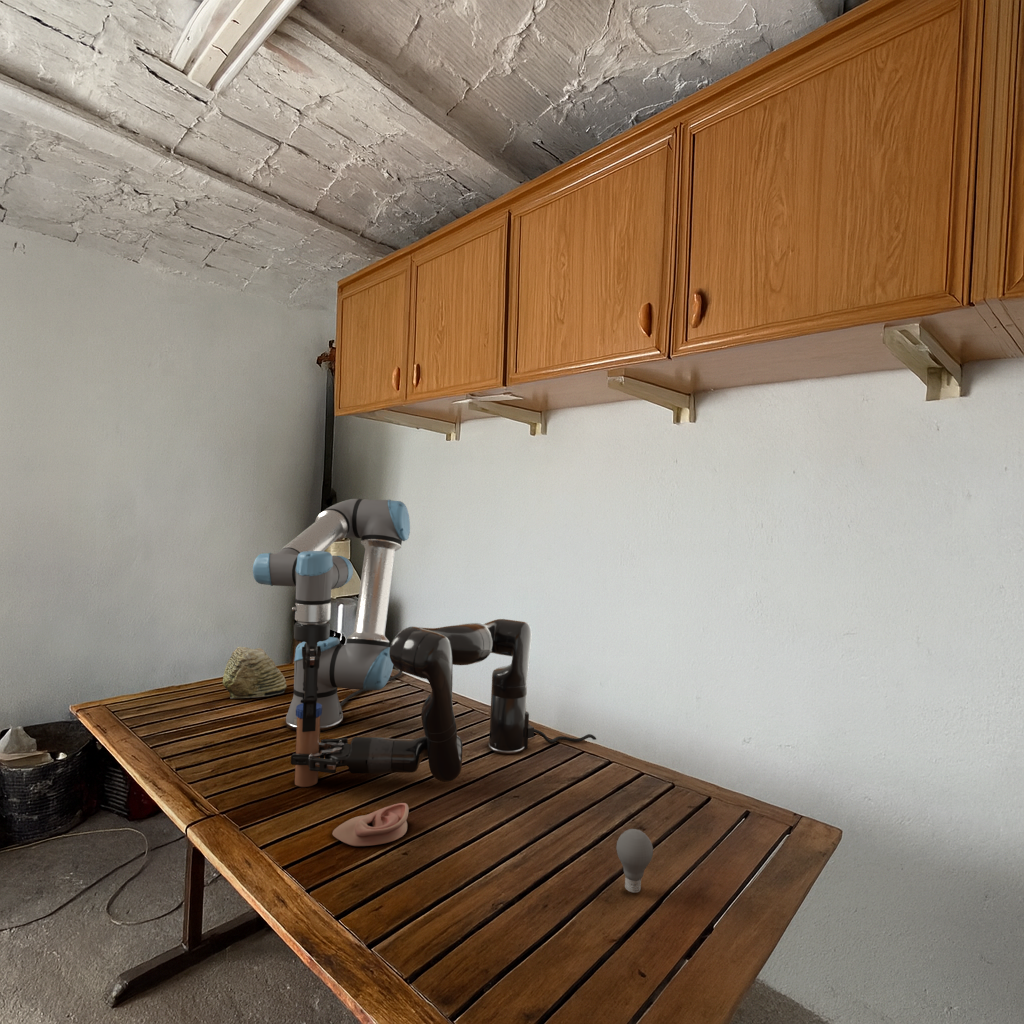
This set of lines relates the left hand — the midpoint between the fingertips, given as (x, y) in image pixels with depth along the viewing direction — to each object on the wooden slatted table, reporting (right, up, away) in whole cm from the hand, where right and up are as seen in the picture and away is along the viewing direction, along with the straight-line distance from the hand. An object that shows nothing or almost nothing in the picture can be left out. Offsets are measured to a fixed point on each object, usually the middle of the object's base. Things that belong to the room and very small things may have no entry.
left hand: (308, 725), depth 140 cm
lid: (0, +4, 0) cm, 4 cm away
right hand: (-3, -6, 0) cm, 7 cm away
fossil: (-36, -10, +58) cm, 69 cm away
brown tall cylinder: (-1, -13, 0) cm, 12 cm away
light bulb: (+65, -16, -34) cm, 75 cm away
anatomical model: (+18, -14, -19) cm, 30 cm away
